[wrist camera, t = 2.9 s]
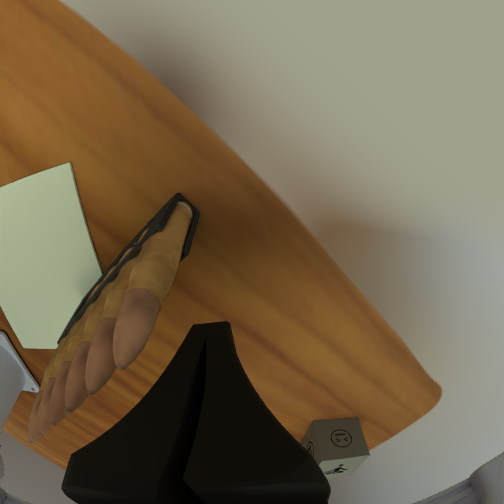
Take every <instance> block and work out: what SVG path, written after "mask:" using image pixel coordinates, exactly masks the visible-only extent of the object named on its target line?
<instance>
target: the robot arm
mask: <svg viewBox="0 0 504 504" xmlns="http://www.w3.org/2000/svg"><path fill="white" fill-rule="evenodd" d="M39 389H40V386H39V385H38V384H37V382H36V381H35V379H34V378H33V377H32V375H31V374H30V372H29V371H28V369H27V368H26V366H25V365H24V363H23V362H22V360H21V359H20V357H19V355H18V354H17V352H16V351H15V349H14V347H13V346H12V344H11V342H10V341H9V339H8V337H7V336H6V334H5V333H4V332H2V331H0V433H1V431H2V428H3V426H4V424H5V422H6V420H7V418H8V416H9V414H10V412H11V410H12V408H13V406H14V404H15V402H16V400H17V398H18V396H19V394H20V393H21V391H22V390H24V391H31V392H38V391H39ZM0 447H1V446H0ZM3 475H4V464H3V459H2V456H1V454H0V485H1V483H2V480H3ZM61 489H62V491H63V492H64V493H65V495H66V496H68V497H69V498H70V499H72V500H73V501H75V502H76V503H78V504H328V499H329V496H330V493H331V489H330V485H329V483H328V480H327V478H326V476H325V475H324V473H323V471H322V470H321V468H320V467H319V465H318V464H317V462H316V461H315V459H314V458H313V456H312V455H311V453H310V452H309V451H308V450H306V449H305V448H304V447H303V446H302V445H301V444H300V443H299V442H298V441H297V440H296V439H295V438H294V437H293V436H292V435H291V434H290V433H289V432H288V431H287V430H286V429H285V428H284V427H283V426H282V425H281V423H280V422H279V421H278V420H277V419H276V417H275V416H274V415H273V414H272V413H271V411H270V410H269V409H268V408H267V406H266V405H265V404H264V402H263V401H262V399H261V398H260V396H259V395H258V393H257V392H256V390H255V389H254V387H253V386H252V384H251V382H250V380H249V379H248V377H247V375H246V373H245V371H244V369H243V367H242V365H241V363H240V361H239V358H238V356H237V353H236V348H235V344H234V339H233V335H232V330H231V325H230V323H229V322H227V321H223V322H214V323H205V324H195V325H193V326H192V327H191V329H190V330H189V332H188V334H187V336H186V337H185V339H184V341H183V343H182V344H181V346H180V348H179V349H178V351H177V352H176V354H175V356H174V357H173V359H172V360H171V362H170V363H169V365H168V366H167V368H166V369H165V371H164V372H163V373H162V375H161V376H160V377H159V379H158V380H157V381H156V383H155V384H154V385H153V387H152V388H151V389H150V390H149V391H148V393H147V394H146V395H145V396H144V397H143V398H142V399H141V401H140V402H139V403H138V404H137V405H136V406H135V407H134V408H133V409H132V410H131V411H130V412H129V413H127V414H126V415H125V416H124V417H123V418H122V419H121V420H120V421H119V422H118V423H116V424H115V425H114V426H113V427H111V428H110V429H109V430H108V431H106V432H105V433H104V434H102V435H101V436H100V437H98V438H97V439H95V440H94V441H92V442H91V443H89V444H87V445H86V446H84V447H83V448H81V449H79V450H78V451H76V452H74V453H72V454H71V457H70V460H69V462H68V465H67V469H66V472H65V476H64V480H63V483H62V488H61ZM0 504H31V503H29V502H27V501H24V500H22V499H20V498H17V497H15V496H13V495H10V494H8V493H6V492H5V491H4V490H3V489H2V488H1V487H0ZM413 504H504V452H503V453H502V454H500V455H498V456H497V457H495V458H494V459H492V460H490V461H489V462H487V463H485V464H484V465H482V466H481V467H479V468H478V469H477V470H476V471H474V472H473V473H472V474H471V476H470V477H469V478H468V479H466V480H464V481H462V482H460V483H458V484H456V485H454V486H452V487H450V488H448V489H446V490H443V491H441V492H439V493H437V494H435V495H432V496H430V497H428V498H425V499H423V500H421V501H418V502H415V503H413Z"/></svg>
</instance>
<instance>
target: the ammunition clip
mask: <svg viewBox="0 0 504 504" xmlns="http://www.w3.org/2000/svg"><path fill="white" fill-rule="evenodd" d="M199 216H200V212H199V211H198V210H197V209H196V208H195V207H194V206H193V205H191V204H190V203H189V202H188V201H187V200H186V199H185V198H184V197H183V196H182V195H181V194H180V193H177V194H175V195H174V196H173V197H172V198H171V199H170V200H169V201H168V202H167V203H166V205H165V206H164V207H163V208H162V209H161V210H160V211H159V212H158V213H157V214H156V215H155V216H154V217H153V218H152V219H151V220H150V221H149V222H148V224H147V225H146V226H145V227H144V228H143V229H142V230H141V231H140V232H139V233H138V234H137V236H136V237H135V238H134V239H133V240H132V241H131V242H130V243H129V244H128V246H127V247H126V248H125V249H124V250H123V251H122V252H121V254H120V255H119V256H118V257H117V258H116V259H115V260H114V262H113V263H112V264H111V265H110V266H109V267H108V269H107V270H106V271H105V272H104V273H103V275H102V276H101V277H100V278H99V279H98V281H97V282H96V283H95V284H94V285H93V287H92V288H91V289H90V290H89V292H88V293H87V294H86V295H85V297H84V298H83V299H82V301H81V302H80V304H79V306H78V307H77V309H76V311H75V312H74V314H73V315H72V317H71V319H70V321H69V322H68V324H67V326H66V327H65V329H64V331H63V332H62V334H61V336H60V338H59V340H58V341H57V344H58V347H57V349H56V350H55V352H54V354H53V356H52V358H51V360H50V362H49V364H48V366H47V368H46V370H45V373H44V377H43V382H42V384H41V386H40V389H39V391H38V395H37V397H36V400H35V402H34V404H33V407H32V411H31V414H30V419H29V425H28V440H29V443H30V444H34V443H35V442H36V441H37V440H38V439H39V438H40V437H41V436H43V435H45V434H46V433H47V432H48V431H49V430H50V429H51V428H52V427H53V426H54V425H57V424H58V423H59V422H61V421H62V420H63V419H64V418H65V417H66V415H67V414H68V413H69V412H72V411H74V410H75V409H77V408H78V407H79V406H80V405H81V404H82V403H83V402H84V400H85V399H86V398H87V396H88V395H89V394H94V393H96V392H97V391H98V390H100V389H101V388H102V387H103V386H104V385H105V384H106V382H107V381H108V380H109V378H110V377H111V376H112V374H113V373H114V371H115V370H116V368H118V369H124V368H126V367H127V366H128V365H130V364H131V363H132V362H133V361H134V360H135V359H136V358H137V356H138V355H139V353H140V352H141V351H142V349H143V348H144V346H145V344H146V342H147V341H148V338H149V336H150V334H151V332H152V330H153V327H154V325H155V322H156V319H157V316H158V313H159V311H160V309H161V306H162V304H163V301H164V299H165V298H166V296H167V295H168V293H169V292H170V290H171V287H172V285H173V282H174V279H175V275H176V272H177V268H178V265H179V263H180V262H181V261H182V260H183V259H184V258H185V257H186V256H187V255H188V254H189V251H190V247H191V244H192V240H193V237H194V233H195V230H196V226H197V223H198V219H199Z"/></svg>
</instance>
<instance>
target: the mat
mask: <svg viewBox="0 0 504 504" xmlns="http://www.w3.org/2000/svg"><path fill="white" fill-rule="evenodd" d="M102 275H103V272H102V269H101V266H100V263H99V260H98V257H97V254H96V251H95V248H94V245H93V242H92V239H91V236H90V232H89V229H88V226H87V222H86V219H85V215H84V212H83V208H82V205H81V201H80V197H79V193H78V189H77V185H76V181H75V177H74V173H73V168H72V164H71V162H69V163H66V164H62V165H59V166H56V167H53V168H50V169H47V170H45V171H42V172H39V173H36V174H33V175H31V176H28V177H25V178H23V179H20V180H17V181H15V182H12V183H10V184H7V185H5V186H2V187H0V306H1V308H2V310H3V312H4V314H5V316H6V318H7V320H8V321H9V323H10V325H11V327H12V329H13V331H14V332H15V334H16V336H17V338H18V339H19V341H20V343H21V344H22V346H23V348H36V349H57V347H58V344H57V341H58V340H59V338H60V336H61V334H62V332H63V331H64V329H65V327H66V326H67V324H68V322H69V321H70V319H71V317H72V315H73V314H74V312H75V311H76V309H77V307H78V306H79V304H80V302H81V301H82V299H83V298H84V297H85V295H86V294H87V293H88V292H89V290H90V289H91V288H92V287H93V285H94V284H95V283H96V282H97V281H98V279H99V278H100V277H101V276H102Z"/></svg>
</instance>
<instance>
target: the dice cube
mask: <svg viewBox="0 0 504 504" xmlns="http://www.w3.org/2000/svg"><path fill="white" fill-rule="evenodd" d="M301 445H302V446H303V447H304V448H305V449H306V450H308V451H309V452H310V453H311V455H312V456H313V458H314V459H315V461H316V462H317V464H318V465H319V467H320V468H321V470H322V471H323V473H324V475H325V476H326V478H327V479H328V478H337V477H344V476H350V475H352V473H354V472H355V471H356V470H357V468H358V467H359V466H360V465H361V464H362V463H363V462H364V461H365V460H366V459H367V458H368V456H369V455H370V454H369V450H368V447H367V444H366V441H365V438H364V435H363V432H362V429H361V426H360V423H359V420H358V418H346V419H332V420H314V421H313V422H312V423H311V425H310V427H309V429H308V431H307V433H306V435H305V436H304V438H303V440H302V442H301Z"/></svg>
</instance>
